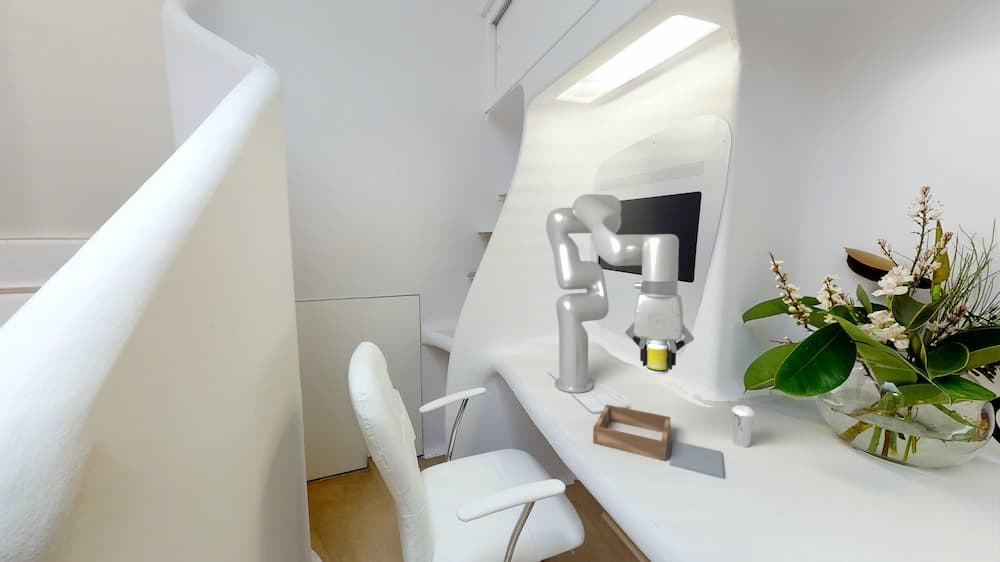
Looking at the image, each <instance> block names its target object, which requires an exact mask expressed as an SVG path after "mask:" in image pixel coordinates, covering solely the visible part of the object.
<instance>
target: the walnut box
mask: <svg viewBox="0 0 1000 562" xmlns="http://www.w3.org/2000/svg"><path fill="white" fill-rule="evenodd" d="M609 422H614V423H617V424H623V425H626V426H632V427H635V428H636V427H637V428H639V429H641V428H642V429H645V430H650V431H655V432H660V433H662V436H661V440H659V439H655V438H651V437H646V436H641V435H636V434H632V433H628V432H625V431H624V432H622V431H621V430H620V431H619V430H615V429H610V428H607V426H608V424H609ZM592 429H593V431H592V432H593V437H592V439H593V440H592V442H593V444H596V445H600V446H604V447H608V448H611V449H614V450H618V451H623V452H627V453H632V454H634V455H635V454H636V455H639V456H641V457H642V456H643V457H647V458H651V459H655V460H659V461H663V462H666V459H667V453H668V445H669V441H670V436H671V435H670V433H671V416H669V415H668V416H667V415H661V414H658V413H657V414H656V413H652V412H646V411H641V410H636V409H631V408H626V407H621V406H616V405H611V404H606V405H605V406H604V408H603V410H602V411H601V413H600V414H599V417H598V419H597V420H596V422H595V424H594V426H593V428H592Z"/></svg>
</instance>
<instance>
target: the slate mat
mask: <svg viewBox="0 0 1000 562" xmlns="http://www.w3.org/2000/svg"><path fill="white" fill-rule="evenodd" d="M722 454H723V453H722V451H721V450H717V449H713V448H708V447H703V446H699V445H695V444H689V443H686V442H681V441H675V440H672V446H671V453H670V458H669V459H670V460H669V465H670V466H673V467H677V468H681V469H684V470H689V471H692V472H696V473H700V474H704V475H709V476H712V477H717V478H720V479H724V478H725V476H724V466H723V455H722Z"/></svg>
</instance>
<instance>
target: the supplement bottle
mask: <svg viewBox="0 0 1000 562" xmlns="http://www.w3.org/2000/svg"><path fill="white" fill-rule="evenodd" d="M667 343H669V341H668V340H660V339H650V338H648V342H647V343H646V345H647V365H646V371H647V372H648V373H651V374H653V375H666V374H668V373H669V369H668V353H669V350H670V345H668V344H667Z"/></svg>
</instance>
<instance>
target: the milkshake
mask: <svg viewBox="0 0 1000 562" xmlns="http://www.w3.org/2000/svg"><path fill="white" fill-rule="evenodd" d="M727 401H728V402H729V403H728V404H729V405H730V408H731V420H732V441H733V444H735V445H736V446H738V447H742V448H748V447H750V443H751V438H752V431H753V426H754V424H753V423H754V419H755V412H754V410H753V409H752V408H751V407H750V406H746V405H744V404H742V405H739V404H738V405H735V406H732V404H731V402H730V400H729V399H728V400H727Z"/></svg>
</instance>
